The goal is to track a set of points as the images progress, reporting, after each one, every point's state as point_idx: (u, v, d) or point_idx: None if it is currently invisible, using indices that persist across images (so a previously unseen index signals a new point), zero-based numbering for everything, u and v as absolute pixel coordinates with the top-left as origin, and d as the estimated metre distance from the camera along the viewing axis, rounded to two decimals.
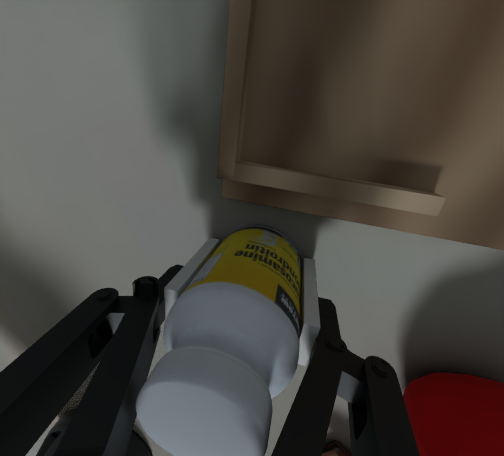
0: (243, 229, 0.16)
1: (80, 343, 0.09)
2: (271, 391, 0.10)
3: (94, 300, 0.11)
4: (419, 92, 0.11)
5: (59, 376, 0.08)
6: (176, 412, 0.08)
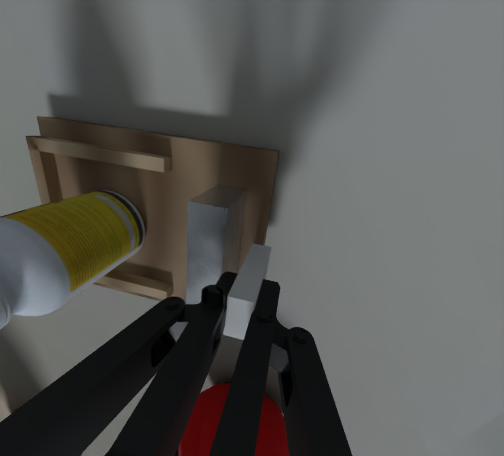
0: None
1: (143, 351, 0.09)
2: None
3: (163, 308, 0.11)
4: (147, 237, 0.21)
5: (120, 382, 0.09)
6: None
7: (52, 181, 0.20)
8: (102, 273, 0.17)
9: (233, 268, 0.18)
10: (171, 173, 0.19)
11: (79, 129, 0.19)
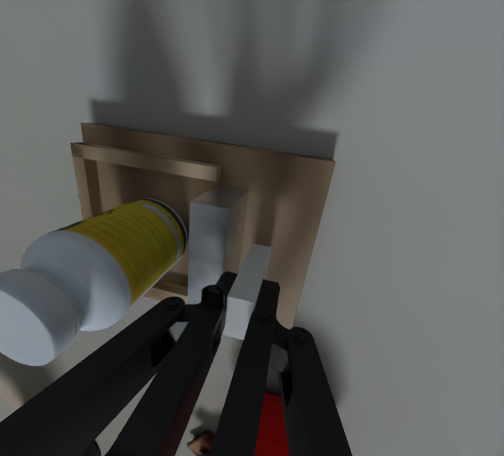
0: None
1: (143, 351, 0.09)
2: (59, 261, 0.12)
3: (163, 308, 0.11)
4: None
5: (120, 382, 0.09)
6: (3, 338, 0.11)
7: (93, 188, 0.20)
8: (153, 285, 0.17)
9: (234, 268, 0.19)
10: (219, 182, 0.18)
11: (125, 136, 0.18)
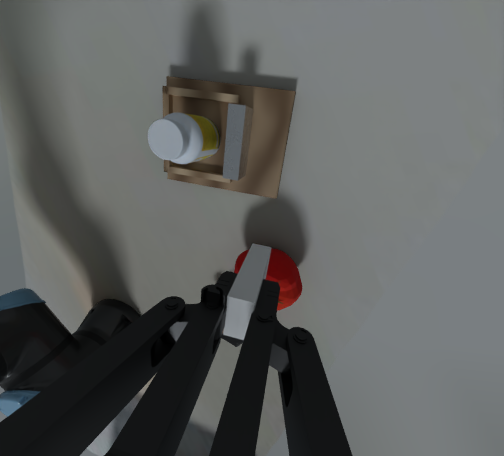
0: None
1: (143, 351, 0.09)
2: (179, 120, 0.29)
3: (162, 308, 0.11)
4: (220, 145, 0.39)
5: (120, 382, 0.09)
6: (160, 146, 0.28)
7: (170, 113, 0.38)
8: (207, 152, 0.34)
9: (246, 151, 0.36)
10: None
11: (190, 82, 0.36)
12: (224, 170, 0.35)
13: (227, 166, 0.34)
